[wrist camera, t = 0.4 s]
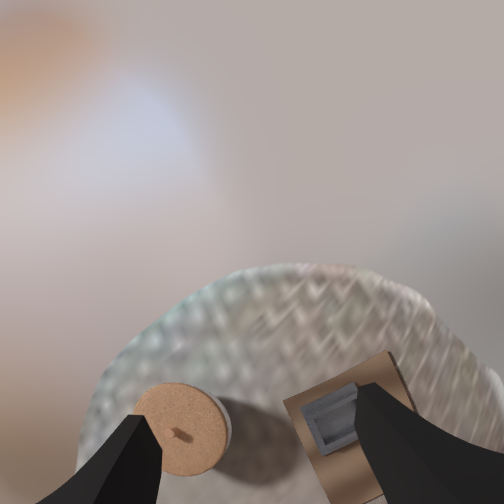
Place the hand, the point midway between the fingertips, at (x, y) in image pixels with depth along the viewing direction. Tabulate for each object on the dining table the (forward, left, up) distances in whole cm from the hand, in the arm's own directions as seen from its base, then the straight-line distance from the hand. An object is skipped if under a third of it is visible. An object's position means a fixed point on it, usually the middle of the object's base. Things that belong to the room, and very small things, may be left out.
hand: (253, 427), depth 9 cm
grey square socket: (-6, -4, -27) cm, 28 cm away
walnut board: (-10, -6, -27) cm, 30 cm away
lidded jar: (0, +12, -28) cm, 30 cm away
